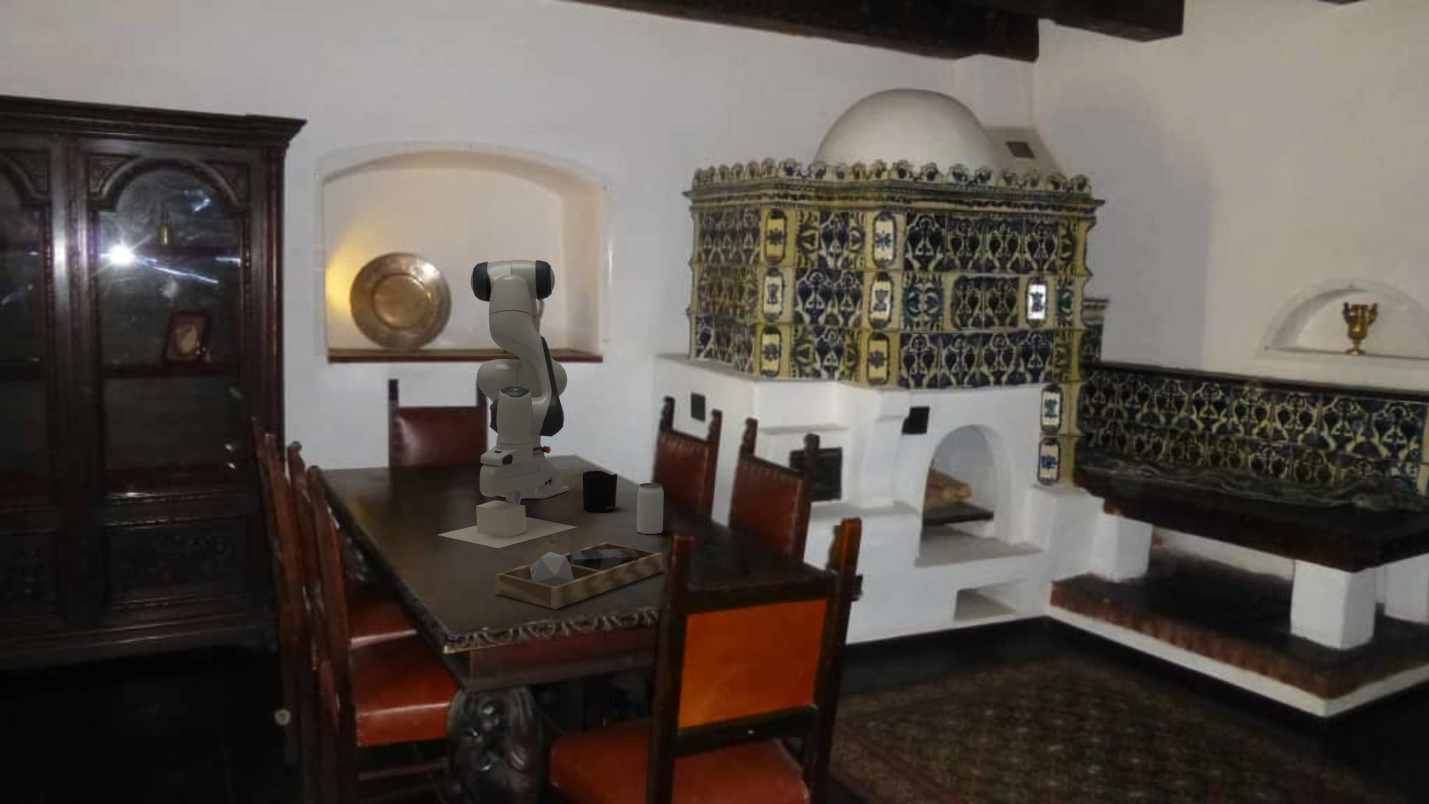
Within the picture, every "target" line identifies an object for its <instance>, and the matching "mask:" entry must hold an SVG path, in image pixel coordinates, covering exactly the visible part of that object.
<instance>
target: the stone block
mask: <svg viewBox="0 0 1429 804" xmlns="http://www.w3.org/2000/svg"><path fill="white" fill-rule="evenodd" d="M577 550H578V551H576V550H570V551H569V552H570V564H574V565H579V566H583V567H588V568H592V569H597V570H602V571H603V570H606V569H609V568H612V567H615V566H618V565H622V564H625V563H628V562H631V561H636V560H638V555H637V554H636V552H635V551H634V550H633V549H632V548H622V549H605V550H595V549H593V548H592V549H591V550H579V549H577Z"/></svg>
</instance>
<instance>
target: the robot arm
mask: <svg viewBox="0 0 1429 804" xmlns="http://www.w3.org/2000/svg"><path fill="white" fill-rule="evenodd" d="M555 277H556V276H555V273H554V271H553V269H552V265H551V264H550V263H549V262H548V261H546V260H545V261H544V260H539V259H536V260H528V259H511V260H499V261H498V260H497V261H492V262H491V261H490V262H489V261H483V262H480V263H476V265H474V267H473V269H472V272H471V275H470V281H469V282H470V287H471V290H472V292H473V294H474V297H475V298H477V299H478V300H480V301H483V302H487V303H489V304H488V305H489V306H488V325H489V333H490V337H491V339H492V340H493V342H494V343H495V345H497V346H498V347H500V348H501V349H502V350H504V351H506V352H508V353H510V354H513V355H516V356H517V357H518V358H519V359H506V358H499V359H492V360H486V361H483V363H482V364H480V366H479V367H478V370H477V373H476V383H477V384H476V385H477V386H478V389H479V390H480V392H482V394H484V395H485V396H486V397H487V398H488V399H490V402H492V403H491V404H490V405H489V410H490V423H489V428H491V430H493V432H495V433H496V434H497V437H496V441H495V444H496V445H495V446H493V447H492V448H491V449H489V450H488V451H486V452H484V453H482V454H481V455H480V463H481V464H483V465H482V466H481V468H480V471H479V472H480V473H479V492H480V493H481V494H482V496H484V497H490V498H494V497H501V498H505V500H506V502H508V503H514V504H519V505H521V501H522V499H547V498H550V497H553V496H557V495H559V494H562V493H565V492H568V491H570V486H568V485H566V484H562V478H561V477H562V476H561V472H560V469H558V468H557V467H556V466H555V465H554V464H552V463H551V462H550V461H549V460H548V459H547V458H545V457H546V456H545V453H546V454H551V451H552V448H551V447H550V446H547V445H544V446H542V444H541V443H542V440H541V437H551V438H552V437H554V436H555V435H557V434H558V433H559V432H560V431H561V430H562V429H563V427H564V423H565V412H564V408H563V405H562V402H561V399H560V398H561V395H562V394H563V393H564V392H565V390H566V387H567V385H568V375H567V372H566V369H565V368H564V367H563V365H562V363H561V364H560V363H559V362H557V361H556V360H555V359H554V358H553V357H552V356H551V353H550V349H549V345H548V343H547V339H546V338H545V337H544V336H542V335H541V334H540V325H539V314H538V305H537V304H538V303H537V300H538V301H541V300H544V299H547V298H549V296H551V295H552V293H553V290H554V287H555V285H556V278H555Z"/></svg>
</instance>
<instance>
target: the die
mask: <svg viewBox="0 0 1429 804" xmlns="http://www.w3.org/2000/svg"><path fill="white" fill-rule="evenodd" d="M533 563H534V564H533V565H532V566H531V567H530V572H531V577H532V581H536V582H540V583H545V584H549V585H553V586H557V585H560V584H563V583H567V582H570V581H573V580H574V578H573V574H572V570H571V567H570V564H569V562H568V560H567V558H566V556H563V555H562V554H560V553H559V554H558V553H557V552H556V553H555V552H552V551H548V552H547V553H546V554H544V555H542V556H540V557H539V558H538V559H537V560H536V561H535V562H533Z"/></svg>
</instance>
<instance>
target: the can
mask: <svg viewBox="0 0 1429 804" xmlns="http://www.w3.org/2000/svg"><path fill="white" fill-rule="evenodd" d="M636 507H637V508H636V509H637V510H636V531H637V533H638V532H639V533H638V534H642V535H646V534H655V535H658V534H657V533H660V534H662V532H663V530H664V529H663V527H664V526H663V523H664V489H663V485H662V483H658V482H644V483H643V482H642V483H640V484H639V488H638V489H637V504H636Z"/></svg>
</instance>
